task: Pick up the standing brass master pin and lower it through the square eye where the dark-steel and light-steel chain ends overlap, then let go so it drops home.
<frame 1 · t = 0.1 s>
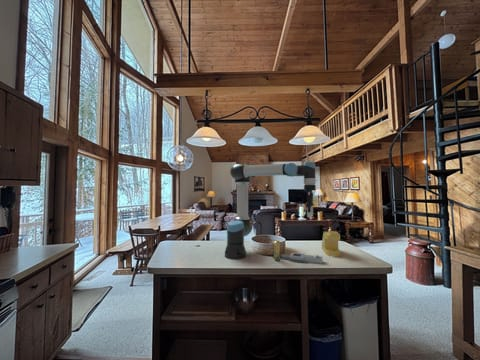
hand: (310, 216, 146), 28 cm above the table, fingers open, 13 cm apart
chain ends: (297, 259, 142), on the table
yellow irregular block: (331, 253, 157), on the table
master pin: (277, 260, 141), on the table
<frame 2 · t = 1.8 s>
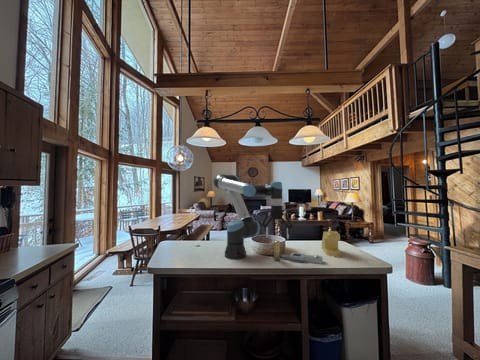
hand: (277, 237, 141), 14 cm above the table, fingers open, 13 cm apart
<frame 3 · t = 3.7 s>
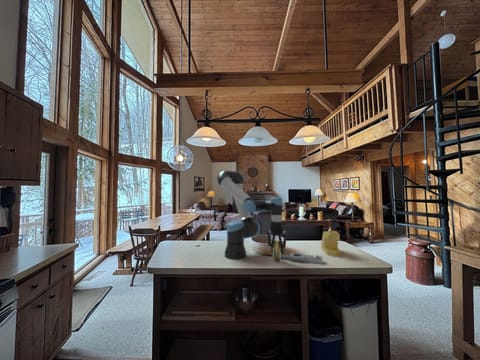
hand: (277, 257, 141), 2 cm above the table, fingers closed on master pin, 3 cm apart
master pin: (277, 260, 141), on the table, touching gripper
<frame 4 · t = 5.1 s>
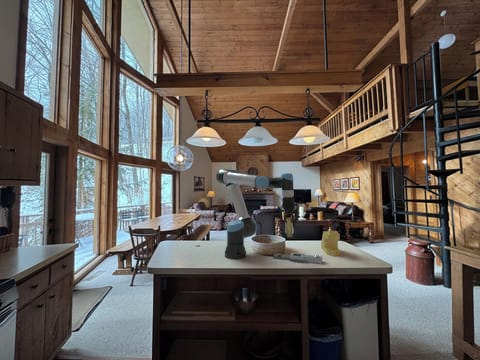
hand: (289, 232, 141), 18 cm above the table, fingers closed on master pin, 3 cm apart
master pin: (289, 236, 141), point 15 cm above the table, touching gripper
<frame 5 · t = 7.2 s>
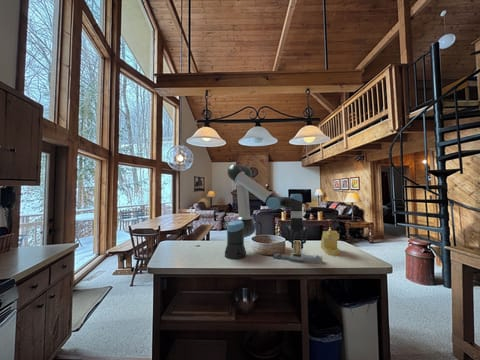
hand: (297, 253, 142), 4 cm above the table, fingers closed on master pin, 3 cm apart
master pin: (297, 259, 142), resting in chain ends, touching gripper
when the fingers open (4 cm above the table, at t = 7.3 s): master pin stays where it is, resting in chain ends.
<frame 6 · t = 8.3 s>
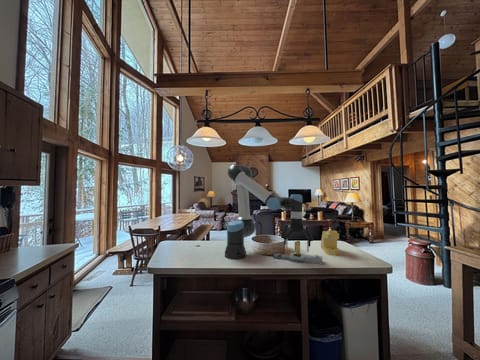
hand: (297, 250, 142), 6 cm above the table, fingers open, 13 cm apart
master pin: (297, 259, 142), resting in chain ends
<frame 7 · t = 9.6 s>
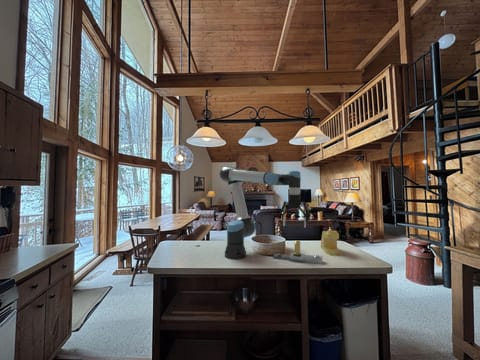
hand: (294, 226, 143), 21 cm above the table, fingers open, 13 cm apart
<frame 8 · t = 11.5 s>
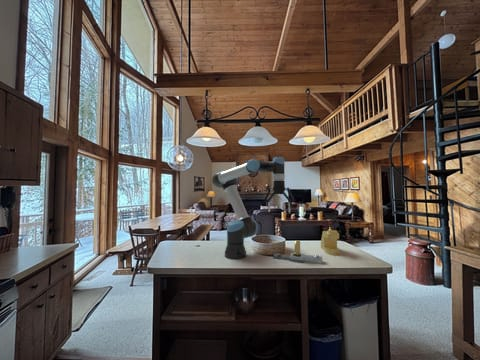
hand: (279, 212, 145), 31 cm above the table, fingers open, 13 cm apart
at the end: master pin 0.2 cm off-centre on the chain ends, point 0.0 cm above the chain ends's base; master pin tilted 0°; the gripper is holding nothing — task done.
